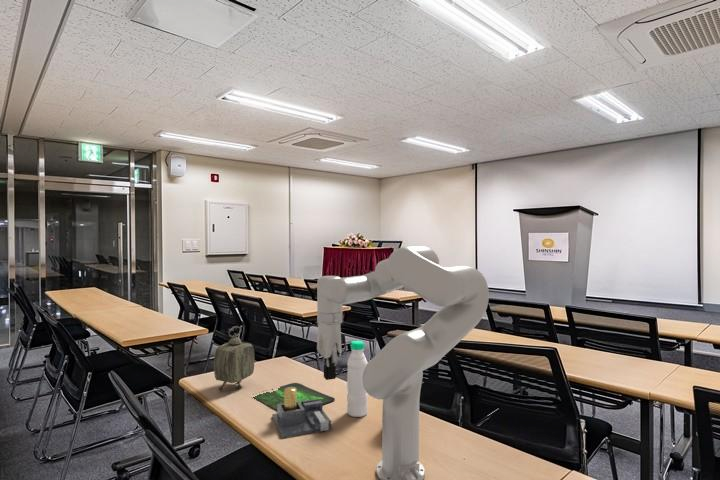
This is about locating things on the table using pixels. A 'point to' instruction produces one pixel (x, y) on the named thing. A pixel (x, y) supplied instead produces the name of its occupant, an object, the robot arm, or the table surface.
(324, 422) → the lock pin
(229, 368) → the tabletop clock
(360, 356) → the water bottle
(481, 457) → the table surface
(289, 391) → the peg
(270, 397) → the mouse mat
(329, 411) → the table surface
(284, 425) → the dock
